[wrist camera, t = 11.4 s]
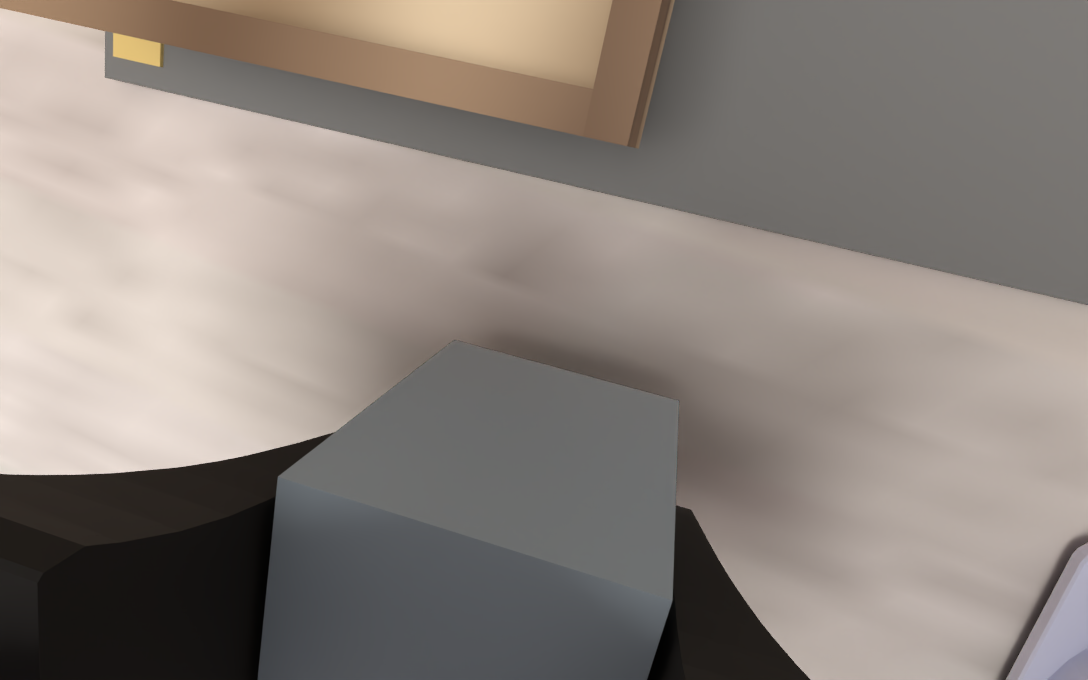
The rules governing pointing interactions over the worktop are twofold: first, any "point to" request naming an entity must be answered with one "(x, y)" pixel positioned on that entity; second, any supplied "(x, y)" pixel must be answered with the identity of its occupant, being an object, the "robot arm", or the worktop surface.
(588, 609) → the block
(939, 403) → the worktop surface
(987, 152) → the plate
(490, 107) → the shallow wooden tray
